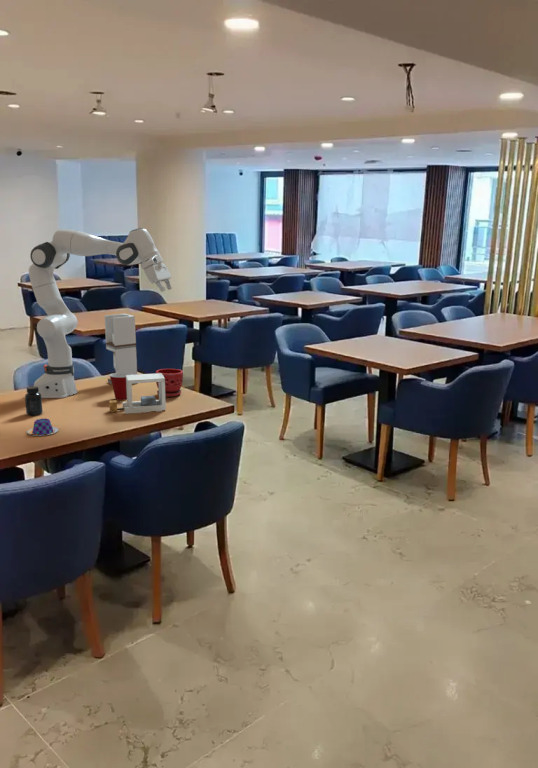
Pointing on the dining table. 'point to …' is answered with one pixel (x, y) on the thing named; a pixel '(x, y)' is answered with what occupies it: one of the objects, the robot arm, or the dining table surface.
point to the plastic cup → (119, 385)
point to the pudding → (43, 427)
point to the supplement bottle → (33, 401)
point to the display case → (122, 342)
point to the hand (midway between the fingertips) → (166, 290)
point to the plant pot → (171, 386)
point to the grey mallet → (144, 402)
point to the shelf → (136, 406)
